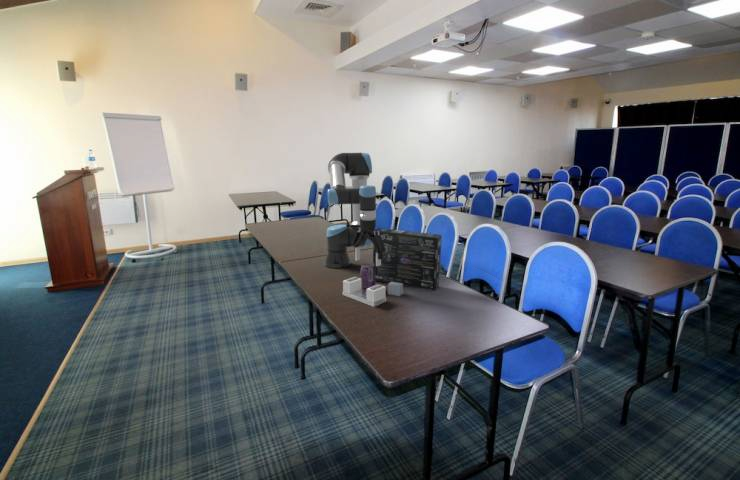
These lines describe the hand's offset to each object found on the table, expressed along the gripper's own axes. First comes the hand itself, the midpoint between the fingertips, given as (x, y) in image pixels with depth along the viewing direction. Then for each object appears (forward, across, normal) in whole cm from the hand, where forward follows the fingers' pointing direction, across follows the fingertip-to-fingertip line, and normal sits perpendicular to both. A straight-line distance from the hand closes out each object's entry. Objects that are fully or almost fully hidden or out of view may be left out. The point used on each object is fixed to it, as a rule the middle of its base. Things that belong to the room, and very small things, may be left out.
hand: (367, 262), depth 176 cm
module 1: (+11, -1, -10) cm, 15 cm away
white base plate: (+13, +7, -10) cm, 18 cm away
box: (+13, +9, +18) cm, 24 cm away
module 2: (+11, +14, -10) cm, 21 cm away
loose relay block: (+13, +14, +4) cm, 20 cm away
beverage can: (+13, 0, 0) cm, 13 cm away
